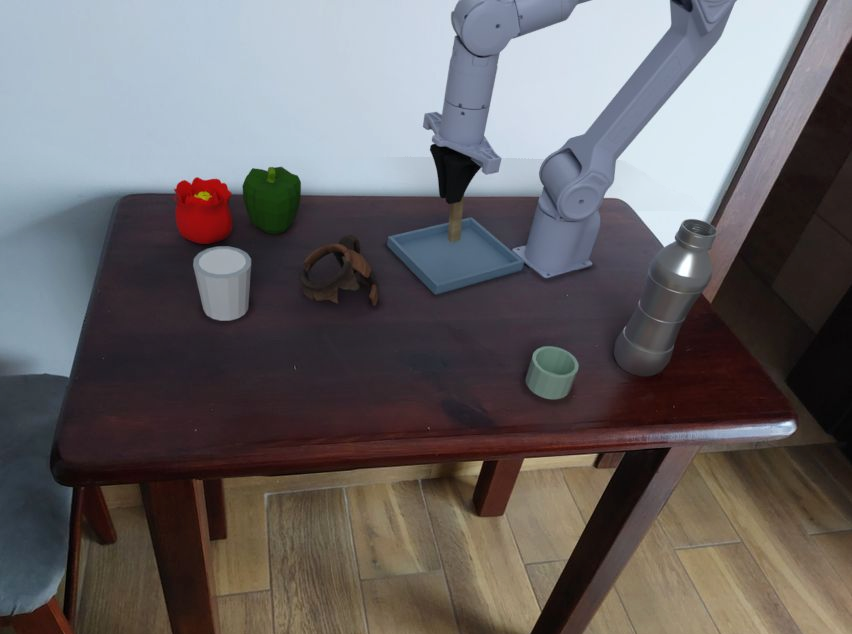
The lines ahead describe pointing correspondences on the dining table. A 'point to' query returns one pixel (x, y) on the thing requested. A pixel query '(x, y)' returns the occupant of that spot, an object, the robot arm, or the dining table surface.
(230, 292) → the shot glass
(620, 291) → the dining table surface
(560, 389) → the espresso cup
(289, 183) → the bell pepper
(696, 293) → the grey metal bottle
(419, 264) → the spoon tray
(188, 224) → the flower
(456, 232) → the stirrer
